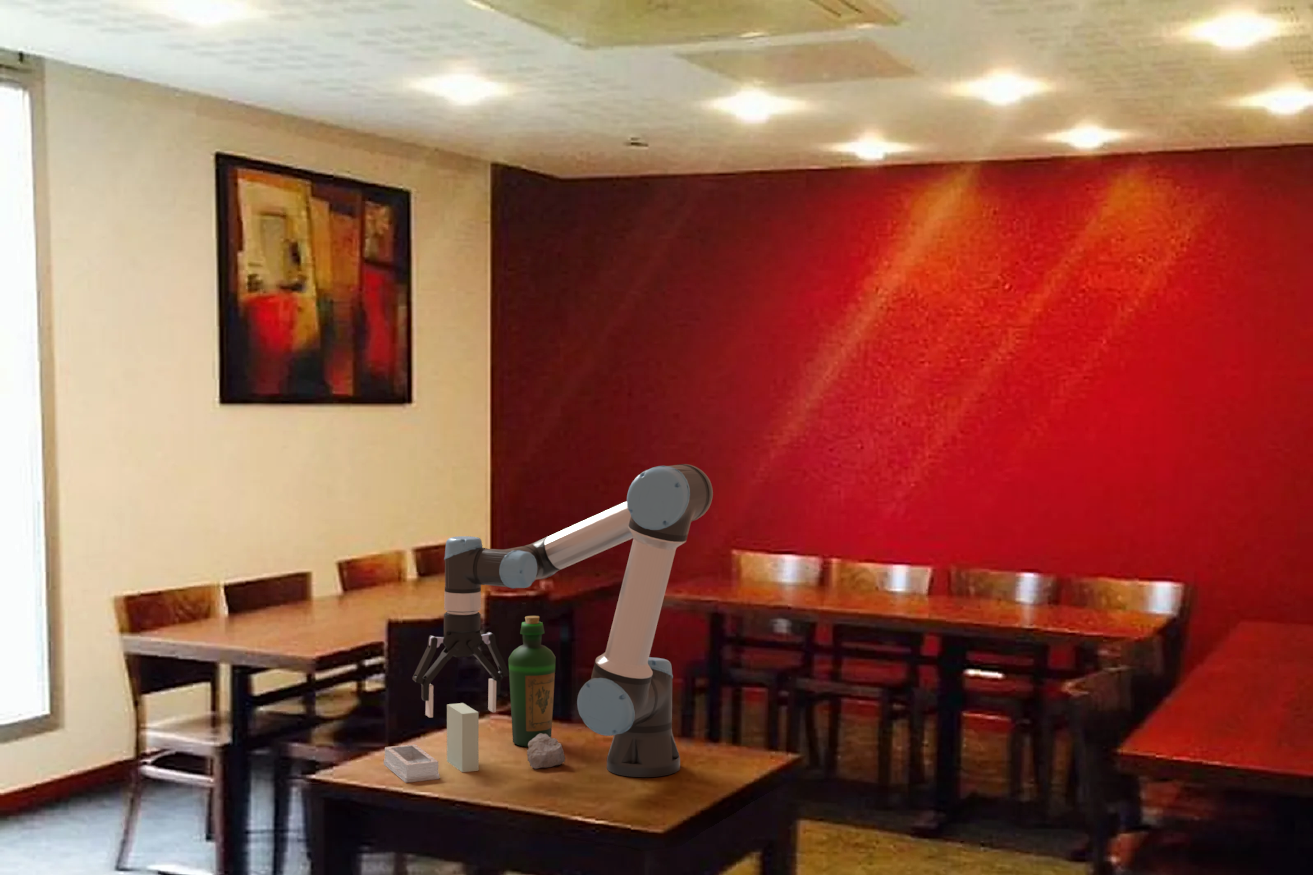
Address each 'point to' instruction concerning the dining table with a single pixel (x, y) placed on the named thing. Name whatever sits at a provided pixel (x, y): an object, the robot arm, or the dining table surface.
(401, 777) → the shallow open box
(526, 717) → the bottle
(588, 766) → the dining table surface
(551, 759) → the stone
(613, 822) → the dining table surface
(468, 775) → the dining table surface
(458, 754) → the rectangular block
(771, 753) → the dining table surface
